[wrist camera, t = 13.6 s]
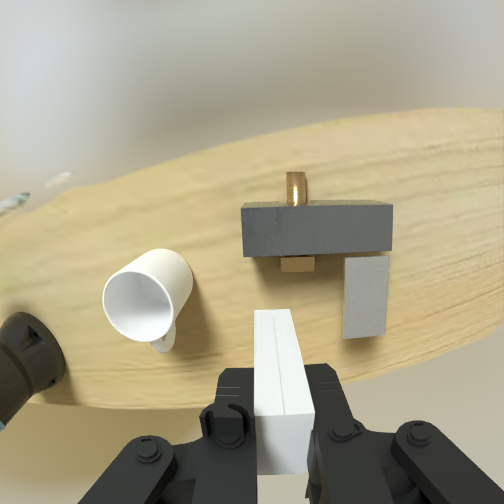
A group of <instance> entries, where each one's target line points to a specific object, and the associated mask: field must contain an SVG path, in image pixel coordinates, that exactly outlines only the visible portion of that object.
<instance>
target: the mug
mask: <svg viewBox="0 0 504 504" xmlns="http://www.w3.org/2000/svg"><path fill="white" fill-rule="evenodd" d="M192 287H193V276H192V272H191V269H190V267H189V265H188V263H187V262H186V261H185V260H184V259H183V258H182V257H181V256H180V255H179V254H177V253H176V252H173V251H171V250H168V249H155V250H151V251H149V252H147V253H145V254H143V255H142V256H140V257H139V258H137V259H136V260H134V261H133V262H131V263H130V264H128V265H127V266H126V267H124V268H123V269H121V270H120V271H118V272H117V273H115V274H114V275H113V276H112V277H111V278H110V279H109V280H108V281H107V283H106V285H105V287H104V291H103V307H104V311H105V314H106V316H107V318H108V320H109V321H110V323H111V324H112V325H113V327H114V328H115V329H116V330H117V331H118V332H120V333H121V334H122V335H124V336H125V337H127V338H129V339H132V340H134V341H138V342H150V344H151V346H152V347H153V348H154V349H155V350H156V351H158V352H160V353H166V352H168V351H170V350H171V349H172V347H173V345H174V342H175V337H176V326H175V319H176V318H177V316H178V314H179V313H180V311H181V309H182V308H183V306H184V304H185V303H186V301H187V299H188V298H189V296H190V293H191V291H192ZM165 334H166V336H165V340H164V341H163V340H162V338H161V337H163V336H164V335H165Z"/></svg>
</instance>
